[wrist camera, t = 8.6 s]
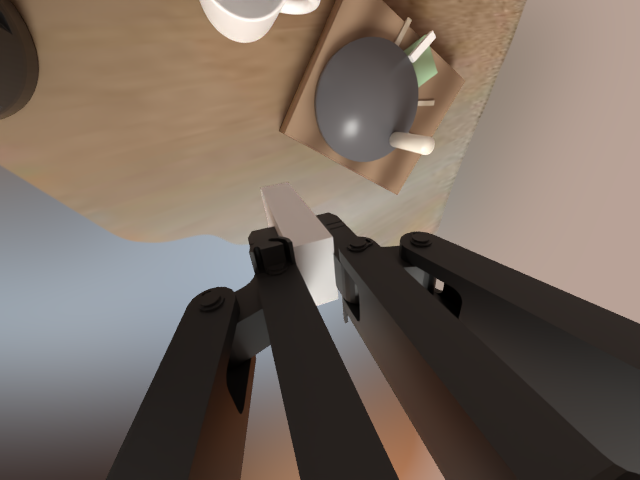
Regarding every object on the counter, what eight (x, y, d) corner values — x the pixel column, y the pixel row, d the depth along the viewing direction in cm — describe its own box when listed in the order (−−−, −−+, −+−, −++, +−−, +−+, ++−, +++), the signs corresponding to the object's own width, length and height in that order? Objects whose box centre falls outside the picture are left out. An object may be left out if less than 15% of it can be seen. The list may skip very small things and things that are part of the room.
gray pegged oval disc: (361, 180, 39) (389, 196, 32) (291, 106, 32) (308, 106, 25) (449, 83, 37) (499, 78, 30) (394, -21, 30) (444, -58, 23)
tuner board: (279, 131, 37) (284, 134, 33) (343, -18, 32) (358, -33, 28) (384, 188, 46) (398, 195, 42) (447, 79, 41) (469, 76, 37)
